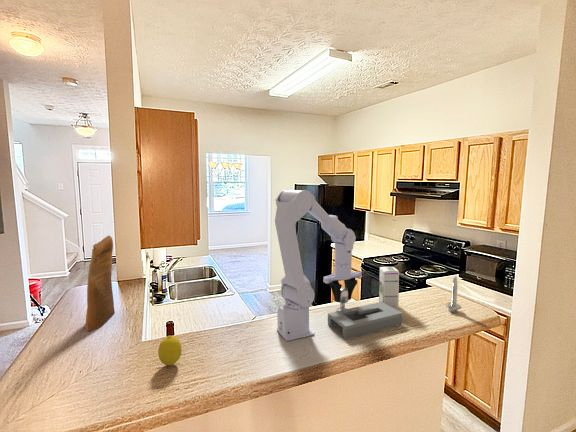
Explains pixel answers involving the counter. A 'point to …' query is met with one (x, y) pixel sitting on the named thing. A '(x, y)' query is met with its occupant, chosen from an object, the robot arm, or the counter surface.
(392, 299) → the syrup box
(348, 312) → the keyhole plate
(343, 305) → the steel peg
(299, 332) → the robot arm
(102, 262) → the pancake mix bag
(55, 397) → the counter surface
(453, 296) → the screw
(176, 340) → the lemon
